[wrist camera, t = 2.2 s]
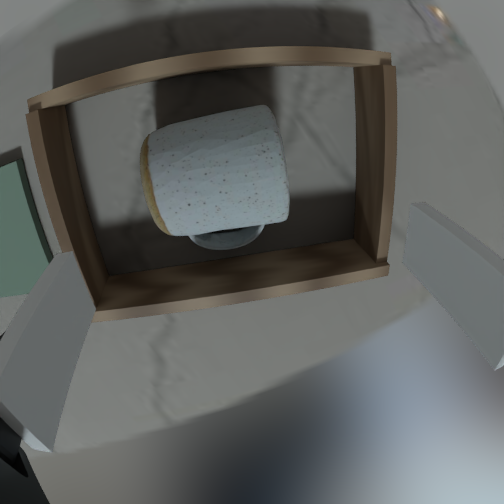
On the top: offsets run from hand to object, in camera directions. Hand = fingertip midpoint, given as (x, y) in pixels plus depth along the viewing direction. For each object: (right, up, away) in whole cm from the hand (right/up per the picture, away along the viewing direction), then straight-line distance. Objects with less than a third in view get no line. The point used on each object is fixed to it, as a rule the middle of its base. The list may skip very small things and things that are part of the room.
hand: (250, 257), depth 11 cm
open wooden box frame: (-2, +6, +12) cm, 13 cm away
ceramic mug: (-2, +6, +12) cm, 14 cm away
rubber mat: (-24, +2, +10) cm, 26 cm away
